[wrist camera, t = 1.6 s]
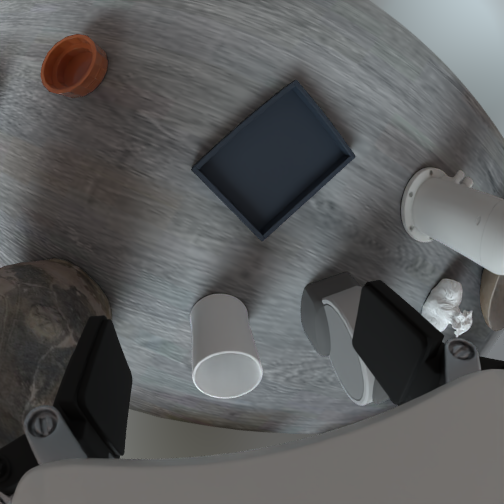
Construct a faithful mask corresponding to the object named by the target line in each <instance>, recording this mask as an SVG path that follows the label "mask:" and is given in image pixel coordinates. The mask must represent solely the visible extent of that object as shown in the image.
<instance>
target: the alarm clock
mask: <svg viewBox="0 0 504 504" xmlns="http://www.w3.org/2000/svg"><path fill="white" fill-rule="evenodd" d="M361 289H362V287H360V285H359V284H358V283H357V282H356V281H355V279H354V278H353V277H352V276H351V275H350V273H348V272H344V273H341V274H338V275H336V276H333V277H330V278H327V279H324V280H321V281H318V282H315V283H312V284H309V285H307V286H306V287H305V288H304V292H303V295H302V301H301V322H302V325H303V328H304V331H305V333H306V335H307V337H308V339H309V341H310V342H311V344H312V345H313V347H314V349H315V350H316V351H317V352H318V353H319V354H320V355H321V356H329V358H330V361H331V364H332V366H333V369H334V371H335V373H336V376H337V378H338V380H339V382H340V384H341V386H342V387H343V389H344V391H345V392H346V394H347V395H348V396H349V398H350V399H351V400H352V401H353V402H354V403H356V404H357V405H366V404H368V403H370V402H372V401H373V402H374V403H375V404H376V405H377V404H380V403H382V402H384V401H386V400H388V399H390V398H389V397H388V395H387V394H386V392H385V391H384V390H383V388H382V387H381V385H380V384H379V383H378V381H377V380H376V378H375V377H374V376H373V374H372V373H371V372H370V370H369V369H368V367H367V366H366V365H365V363H364V362H363V361H362V359H361V358H360V357H359V355H358V354H357V352H356V351H355V350H354V348H353V346H352V338H353V333H354V328H355V323H356V318H357V312H358V306H359V301H360V295H361Z"/></svg>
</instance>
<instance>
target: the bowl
mask: <svg viewBox="0 0 504 504" xmlns="http://www.w3.org/2000/svg"><path fill="white" fill-rule="evenodd" d="M480 305H481V309H482V310H481V311H482V313H483V316H484V319H485V322H486V324H487V325H488V326H489V327H490V328H491V329H492V330H494V331H498V330H502V329H503V328H504V275H497V274H494V273H492V272H490V271H489V270H487V269H485V268H484V270H483V274H482V278H481V287H480Z"/></svg>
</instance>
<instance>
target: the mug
mask: <svg viewBox="0 0 504 504" xmlns="http://www.w3.org/2000/svg"><path fill="white" fill-rule="evenodd" d="M190 325H191V337H192V378H193V382H194V384H195V386H196V387H197V388H198V389H199V390H200V391H201V392H203V393H204V394H206V395H209V396H212V397H216V398H233V397H238V396H241V395H244V394H246V393H248V392H250V391H251V390H253V389H254V388H255V387H256V386H257V385H258V384H259V382H260V381H261V379H262V376H263V368H262V364H261V361H260V358H259V355H258V351H257V348H256V345H255V341H254V338H253V334H252V331H251V328H250V324H249V321H248V311H247V309H246V307H245V305H244V304H243V303H242V302H241V301H240V300H239V299H238V298H236V297H234V296H231V295H228V294H212V295H209V296H206V297H204V298H202V299H201V300H199V301H198V302H197V303H196V304H195V305H194V307H193V308H192V310H191V313H190Z"/></svg>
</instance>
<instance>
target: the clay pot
mask: <svg viewBox="0 0 504 504" xmlns="http://www.w3.org/2000/svg"><path fill="white" fill-rule="evenodd" d="M101 315H105V316H106V317H107V319H111V320H112V313H111V308H110V304H109V301H108V298H107V297H106V295H105V294H104V292H103V291H102V289H101V288H100V286H99V285H98V284H97V283H96V282H95V281H94V280H93V279H92V278H91V277H90V276H89V275H88V274H87V273H86V272H85V271H84V270H82V269H81V268H79V267H78V266H76V265H74V264H73V263H71V262H69V261H67V260H63V259H57V258H52V259H47V260H41V261H31V262H22V263H17V264H12V265H7V266H4V267H2V268H0V448H2V447H4V446H5V445H7V444H9V443H10V442H12V441H14V440H15V439H17V438H18V437H20V436H22V435H23V434H25V432H24V427H23V426H24V420H25V418H26V416H27V414H28V413H29V412H30V411H31V410H33V409H34V408H35V407H38V406H41V405H49V406H53V403H54V400H55V397H56V395H57V392H58V389H59V386H60V384H61V381H62V378H63V376H64V373H65V370H66V368H67V365H68V363H69V360H70V358H71V356H72V354H73V353H74V351H75V348H76V346H77V343H78V341H79V339H80V337H81V334H82V332H83V330H84V328H85V325H86V323H87V321H88V319H89V317H90V316H101Z"/></svg>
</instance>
